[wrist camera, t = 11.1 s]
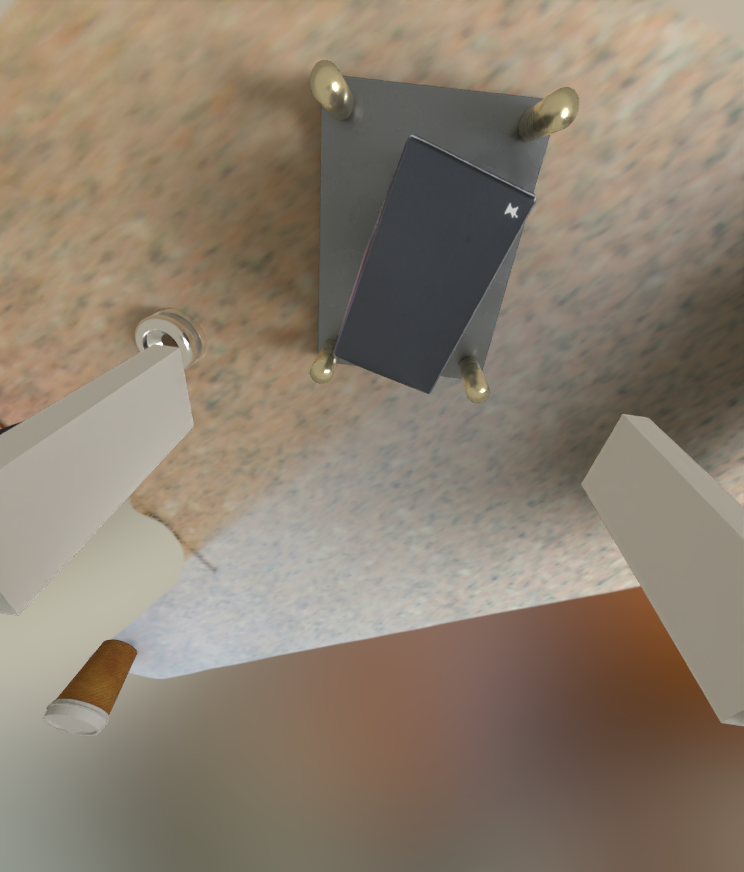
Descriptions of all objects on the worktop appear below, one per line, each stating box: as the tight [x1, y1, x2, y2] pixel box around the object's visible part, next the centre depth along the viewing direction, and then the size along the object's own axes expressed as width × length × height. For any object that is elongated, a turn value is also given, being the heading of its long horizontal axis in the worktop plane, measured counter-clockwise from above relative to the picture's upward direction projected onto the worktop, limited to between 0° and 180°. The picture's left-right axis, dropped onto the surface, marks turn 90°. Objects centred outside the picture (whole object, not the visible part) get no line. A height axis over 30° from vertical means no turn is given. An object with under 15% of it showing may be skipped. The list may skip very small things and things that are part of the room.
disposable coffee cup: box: [44, 640, 137, 736], centre depth 64 cm, size 10×10×12 cm
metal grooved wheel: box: [135, 308, 207, 371], centre depth 32 cm, size 5×3×5 cm
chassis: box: [310, 60, 579, 403], centre depth 25 cm, size 14×18×6 cm
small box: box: [334, 134, 536, 394], centre depth 22 cm, size 11×6×10 cm, turn 159°
